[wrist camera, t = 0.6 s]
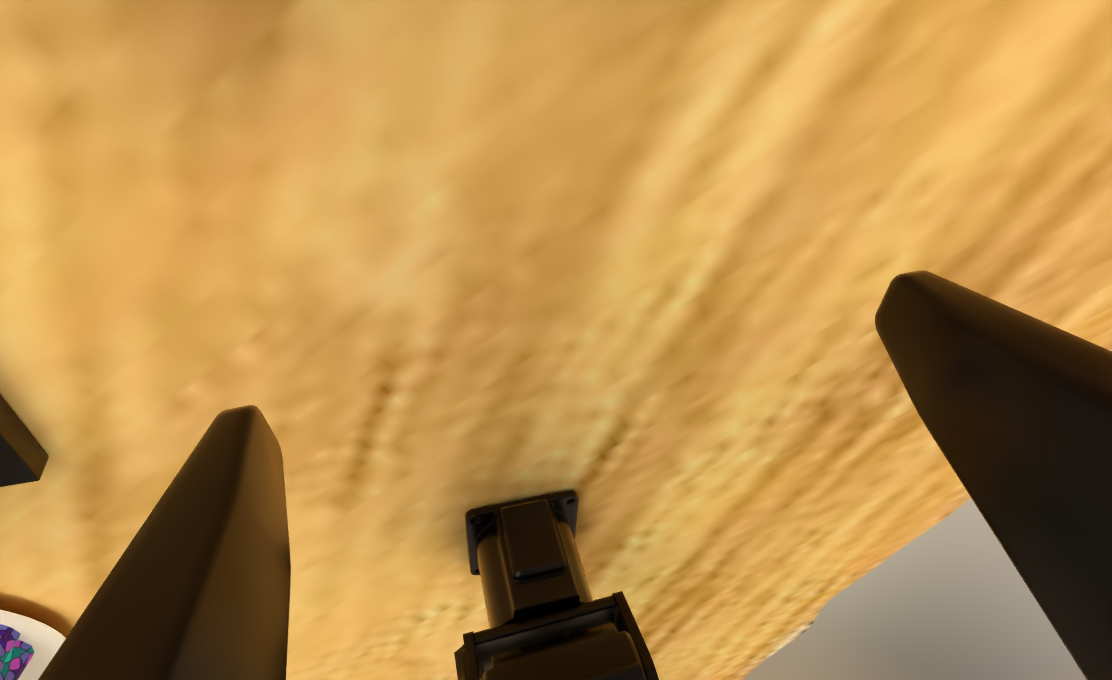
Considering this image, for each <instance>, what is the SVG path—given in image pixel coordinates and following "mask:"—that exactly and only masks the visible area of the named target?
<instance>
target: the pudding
mask: <svg viewBox="0 0 1112 680" xmlns="http://www.w3.org/2000/svg"><path fill="white" fill-rule="evenodd" d="M65 639H66V638H65V637H64V636H63V635H62V634H61V633H60V632H58V631H56V630H55V629H53V628H51V627H49V626H48V625H46V624H44V623H41V622H39V621H36V620H34V619H31V618H29V617H26V616H23V615H19V614H15V613H12V612H8V611H4V610H0V680H38V679H39V677H40V676H41V674H42V673H43V671H44V670H45V668H46V667H47V665H48V664H49V662H50V661H51V659H52V658H53V657H54V655H55V654H56V652H57V651H58V649H59V648H60V646H61V645H62V643H63V642H64V640H65Z"/></svg>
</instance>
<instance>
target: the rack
mask: <svg viewBox="0 0 1112 680" xmlns="http://www.w3.org/2000/svg"><path fill="white" fill-rule="evenodd" d="M47 460H48V456H47V454H46V453H45V452H44V451H43V449H42V448H41V447H40V445H39V444H38V443H37V442H36V440H35V439H34V438H33V437H32V435H31V434H30V433H29V432H28V430H27V429H26V428H25V427H24V425H23V424H22V423H21V421H20V420H19V419H18V418H17V416H16V415H15V414H14V413H13V411H12V410H11V409H10V408H9V406H8V405H7V404H6V402H5V401H4V400H3V399H2V397H1V396H0V487H3V486H9V485H15V484H21V483H27V482H33V481H39V480H40V477H41V475H42V473H43V470H44V468H45V465H46V463H47Z"/></svg>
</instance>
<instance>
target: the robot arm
mask: <svg viewBox="0 0 1112 680" xmlns="http://www.w3.org/2000/svg"><path fill="white" fill-rule="evenodd" d="M875 325H876V329H877V332H878V334H879V336H880V338H881V340H882V342H883V344H884V346H885V348H886V350H887V352H888V354H889V356H890V358H891V360H892V362H893V364H894V366H895V368H896V370H897V372H898V374H899V376H900V378H901V380H902V382H903V384H904V386H905V388H906V390H907V392H908V394H909V396H910V398H911V400H912V402H913V404H914V406H915V408H916V410H917V412H918V414H919V415H920V417H921V419H922V420H923V422H924V424H925V425H926V427H927V429H928V430H929V432H930V433H931V435H932V437H933V438H934V440H935V441H936V443H937V444H938V446H939V448H940V449H941V451H942V452H943V454H944V456H945V457H946V459H947V460H948V462H949V463H950V465H951V467H952V468H953V470H954V471H955V473H956V474H957V476H958V478H959V479H960V481H961V482H962V484H963V485H964V487H965V489H966V490H967V492H968V493H969V495H970V496H971V498H972V499H973V501H974V503H975V504H976V506H977V507H978V509H979V511H980V512H981V514H982V515H983V517H984V519H985V520H986V522H987V523H988V525H989V526H990V528H991V530H992V531H993V533H994V534H995V536H996V537H997V539H998V541H999V542H1000V544H1001V545H1002V547H1003V548H1004V550H1005V552H1006V553H1007V555H1008V556H1009V558H1010V559H1011V561H1012V563H1013V564H1014V566H1015V567H1016V569H1017V571H1018V572H1019V574H1020V575H1021V577H1022V578H1023V580H1024V582H1025V583H1026V585H1027V586H1028V588H1029V589H1030V591H1031V593H1032V594H1033V596H1034V597H1035V599H1036V600H1037V602H1038V603H1039V605H1040V607H1041V608H1042V610H1043V611H1044V613H1045V614H1046V616H1047V618H1048V619H1049V621H1050V622H1051V624H1052V626H1053V627H1054V629H1055V630H1056V632H1057V633H1058V635H1059V637H1060V638H1061V640H1062V641H1063V643H1064V645H1065V646H1066V648H1067V649H1068V651H1069V652H1070V654H1071V656H1072V657H1073V659H1074V660H1075V662H1076V663H1077V665H1078V667H1079V668H1080V670H1081V671H1082V673H1083V675H1084V676H1085V678H1086V679H1087V680H1112V352H1111V351H1109V350H1107V349H1105V348H1102V347H1100V346H1098V345H1095V344H1093V343H1091V342H1089V341H1086V340H1084V339H1082V338H1079V337H1077V336H1075V335H1073V334H1070V333H1068V332H1066V331H1063V330H1061V329H1059V328H1056V327H1054V326H1052V325H1050V324H1047V323H1045V322H1043V321H1040V320H1038V319H1036V318H1034V317H1031V316H1029V315H1027V314H1024V313H1022V312H1020V311H1018V310H1015V309H1013V308H1011V307H1008V306H1006V305H1004V304H1002V303H999V302H997V301H995V300H992V299H990V298H988V297H985V296H983V295H981V294H979V293H976V292H974V291H972V290H969V289H967V288H965V287H963V286H960V285H958V284H956V283H953V282H951V281H949V280H947V279H944V278H942V277H940V276H937V275H935V274H933V273H931V272H928V271H914V272H909V273H904V274H900V275H897V276H896V277H895V278H893V280H892V281H891V283H890V285H889V287H888V289H887V291H886V293H885V295H884V297H883V300H882V302H881V304H880V306H879V308H878V310H877V312H876V315H875ZM578 501H579V500H578V496H577V493H576V492H575V491H572V490H571V491H565V492H560V493H554V494H549V495H544V496H539V497H534V498H529V499H524V500H519V501H514V502H509V503H504V504H499V505H494V506H489V507H484V508H478V509H473V510H470V511H468V512H467V513H466V514H465V524H466V534H467V544H468V553H469V563H470V570H471V574H473V575H480V576H481V582H482V587H483V593H484V598H485V604H486V609H487V615H488V620H489V626H490V629H487V630H483V631H480V632H476V633H473V632H469V633H465V634H463V639H464V645H462V647H461V648H460V649H458V650H457V651H456V652H455V653H454V654H455V661H456V668H457V676H458V680H659V679H658V675H657V672H656V669H655V666H654V663H653V660H652V658H651V655H650V653H649V651H648V648H647V646H646V644H645V642H644V639H643V637H642V635H641V633H640V630H639V628H638V626H637V624H636V621H635V619H634V617H633V615H632V612H631V610H630V608H629V606H628V603H627V601H626V599H625V597H624V594H623V592H622V591H620V592H617V593H613V594H612V596H609V597H605V598H601V599H598V600H594V601H593V599H592V595H591V592H590V589H589V586H588V582H587V579H586V576H585V573H584V570H583V566H582V563H581V560H580V557H579V553H578V550H577V547H576V544H575V540H574V539H575V529H576V520H577V510H578ZM290 576H291V564H290V547H289V535H288V522H287V509H286V496H285V483H284V471H283V459H282V452H281V448H280V445H279V443H278V441H277V439H276V437H275V435H274V433H273V432H272V430H271V428H270V426H269V425H268V423H267V421H266V419H265V418H264V416H263V414H262V412H261V411H260V410H259V409H258V408H257V407H256V406H254V405H248V406H243V407H238V408H233V409H228V410H225V411H222V412H221V413H220V414H218V415H217V416H216V418H215V419H214V421H213V422H212V424H211V425H210V427H209V428H208V430H207V431H206V432H205V434H204V435H203V437H202V438H201V440H200V441H199V443H198V444H197V446H196V447H195V449H194V450H193V452H192V453H191V455H190V456H189V458H188V459H187V460H186V462H185V463H184V465H183V466H182V468H181V469H180V471H179V472H178V474H177V475H176V477H175V478H174V480H173V481H172V483H171V484H170V486H169V487H168V488H167V490H166V491H165V493H164V494H163V496H162V497H161V499H160V500H159V502H158V503H157V505H156V506H155V508H154V509H153V511H152V512H151V514H150V515H149V516H148V518H147V519H146V521H145V522H144V524H143V525H142V527H141V528H140V530H139V531H138V533H137V534H136V536H135V537H134V539H133V540H132V542H131V543H130V544H129V546H128V547H127V549H126V550H125V552H124V553H123V555H122V556H121V558H120V559H119V561H118V562H117V564H116V565H115V567H114V568H113V570H112V571H111V572H110V574H109V575H108V577H107V578H106V580H105V581H104V583H103V584H102V586H101V587H100V589H99V590H98V592H97V593H96V595H95V596H94V598H93V599H92V600H91V602H90V603H89V605H88V606H87V608H86V609H85V611H84V612H83V614H82V615H81V617H80V618H79V620H78V621H77V623H76V624H75V626H74V627H73V629H72V630H71V631H70V633H69V634H68V636H67V637H66V639H65V640H64V642H63V643H62V645H61V646H60V648H59V649H58V651H57V652H56V654H55V655H54V657H53V658H52V659H51V661H50V662H49V664H48V665H47V667H46V668H45V670H44V671H43V673H42V674H41V676H40V677H39V679H38V680H286V666H287V645H288V624H289V603H290Z"/></svg>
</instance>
